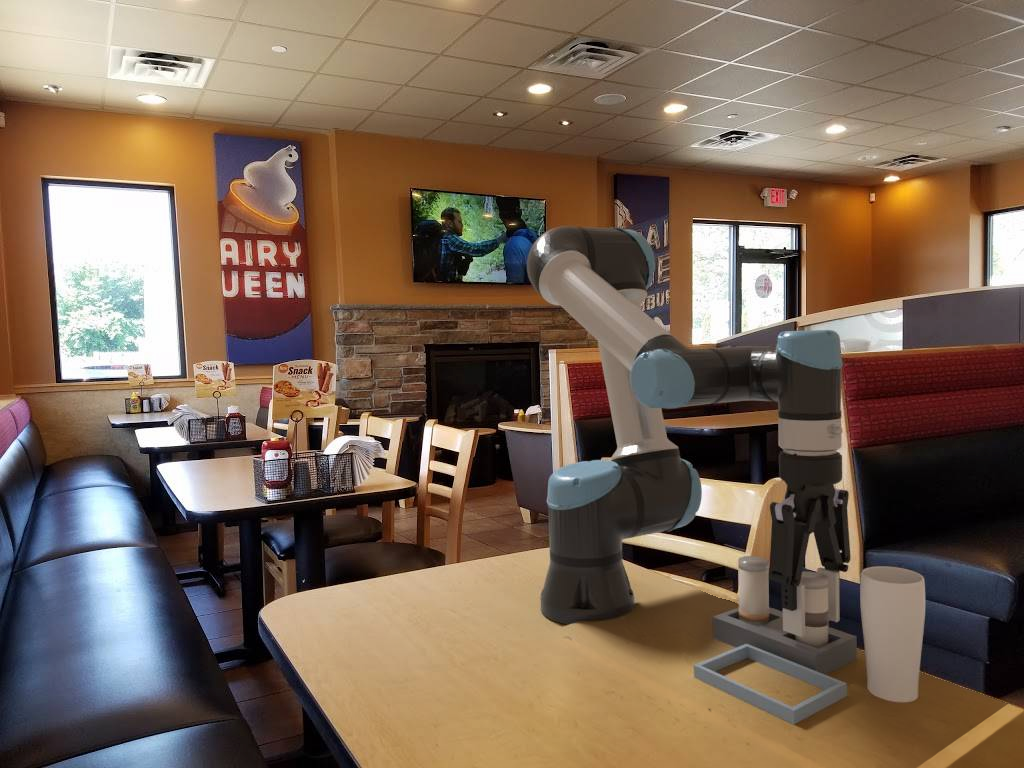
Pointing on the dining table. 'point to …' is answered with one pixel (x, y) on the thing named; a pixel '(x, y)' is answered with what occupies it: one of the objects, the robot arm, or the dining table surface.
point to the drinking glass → (892, 630)
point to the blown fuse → (815, 609)
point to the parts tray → (795, 714)
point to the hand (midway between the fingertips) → (811, 625)
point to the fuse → (753, 590)
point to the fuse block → (786, 641)
